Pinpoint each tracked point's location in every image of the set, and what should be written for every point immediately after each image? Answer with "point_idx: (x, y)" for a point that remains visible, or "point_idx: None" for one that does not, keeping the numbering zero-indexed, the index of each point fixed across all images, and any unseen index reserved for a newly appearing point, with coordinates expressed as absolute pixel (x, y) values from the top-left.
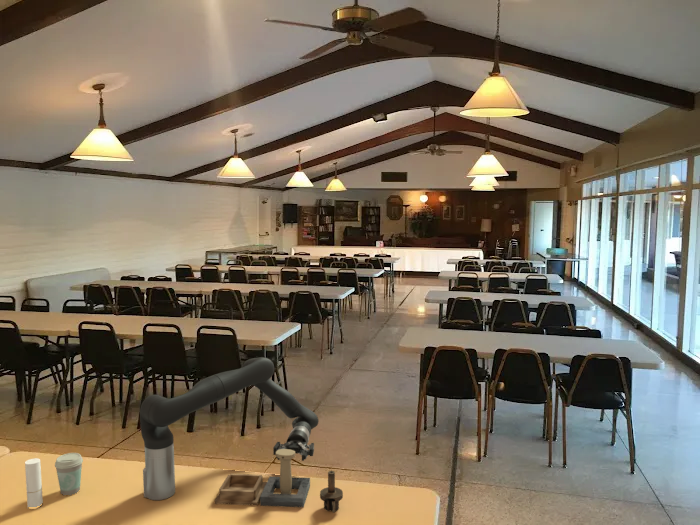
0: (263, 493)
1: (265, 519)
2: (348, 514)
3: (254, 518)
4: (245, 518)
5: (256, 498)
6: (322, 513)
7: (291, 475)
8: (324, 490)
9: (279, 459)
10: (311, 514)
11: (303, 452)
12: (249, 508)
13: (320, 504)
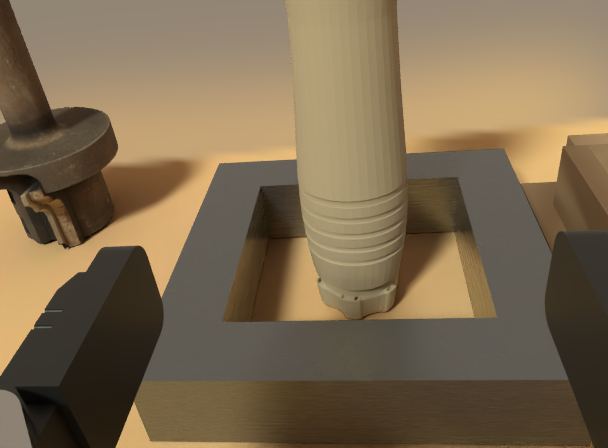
0: (500, 170)
1: (416, 137)
2: (7, 195)
3: (473, 136)
4: (519, 132)
5: (553, 210)
6: (134, 189)
7: (296, 150)
8: (72, 143)
9: (546, 309)
10: (191, 179)
11: (83, 314)
12: (550, 180)
13: (124, 241)
